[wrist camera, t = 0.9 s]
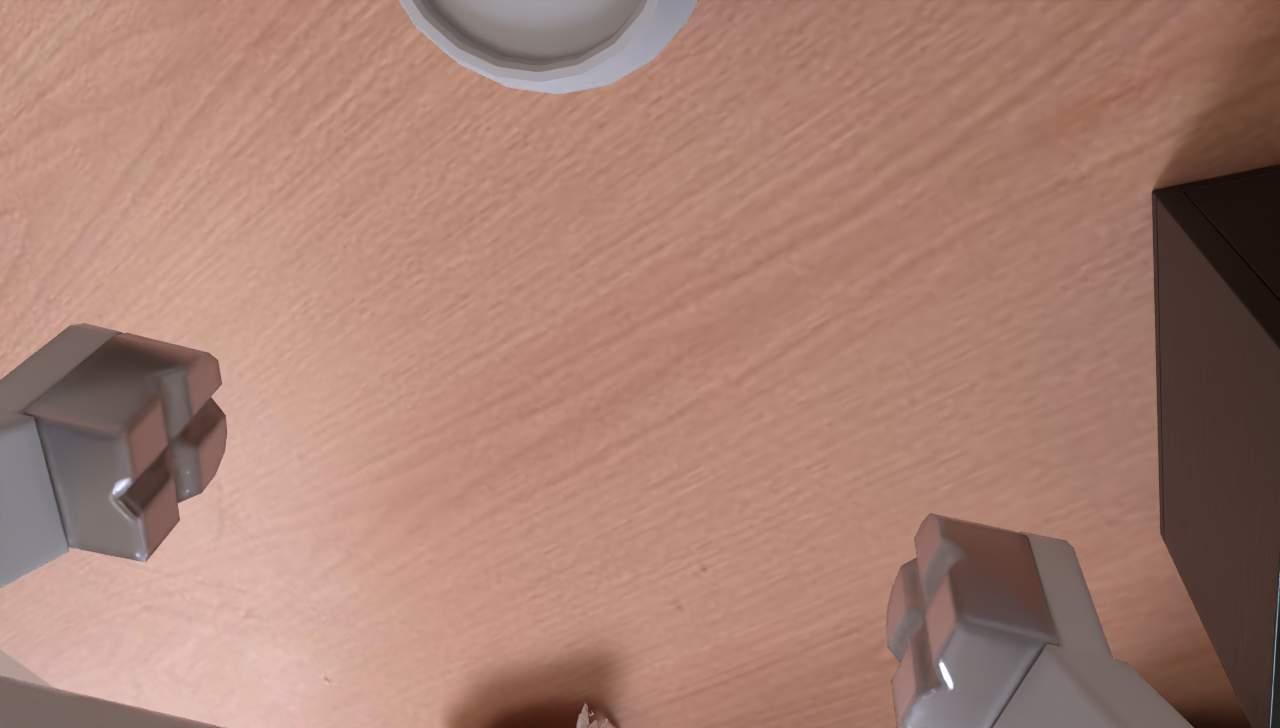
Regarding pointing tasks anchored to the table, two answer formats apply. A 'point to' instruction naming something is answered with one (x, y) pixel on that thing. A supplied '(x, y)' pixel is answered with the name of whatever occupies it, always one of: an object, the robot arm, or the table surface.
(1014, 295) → the table surface
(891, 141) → the table surface
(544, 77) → the can
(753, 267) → the table surface
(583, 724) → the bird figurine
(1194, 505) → the bin
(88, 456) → the robot arm
